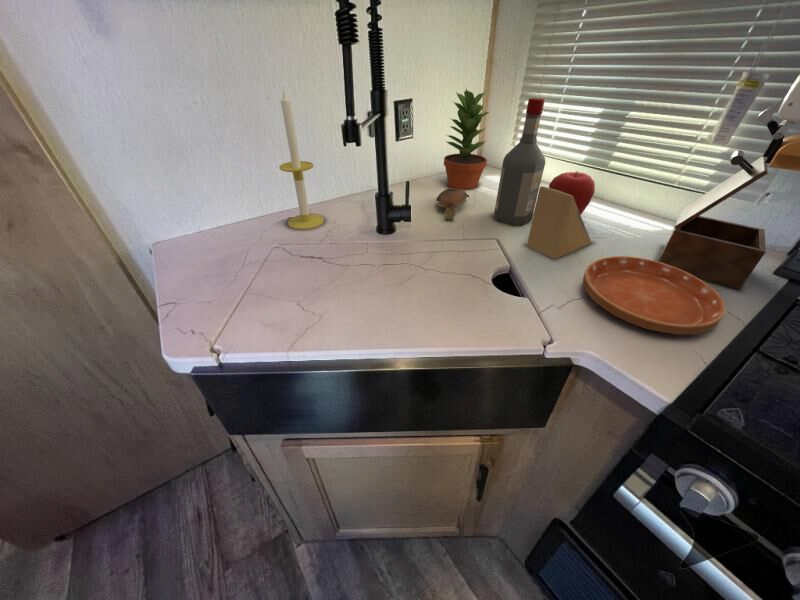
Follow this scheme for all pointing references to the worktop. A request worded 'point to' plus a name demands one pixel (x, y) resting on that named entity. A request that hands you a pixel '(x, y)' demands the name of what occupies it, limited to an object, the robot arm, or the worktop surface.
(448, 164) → the potted plant
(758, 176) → the bread lid
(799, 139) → the orange cylinder
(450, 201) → the toy tortoise
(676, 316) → the saucer
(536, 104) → the liquor
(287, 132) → the candle
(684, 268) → the bin
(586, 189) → the apple
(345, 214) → the worktop surface
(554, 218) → the sandwich container
